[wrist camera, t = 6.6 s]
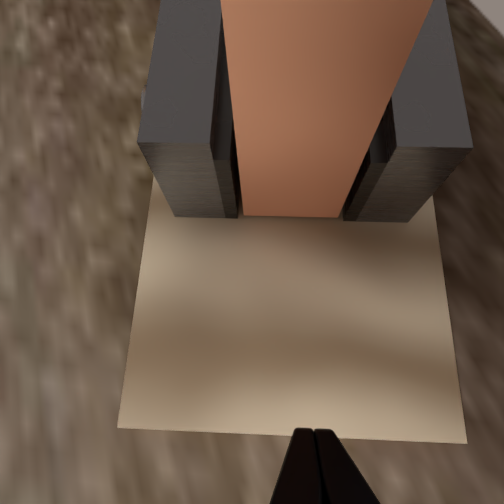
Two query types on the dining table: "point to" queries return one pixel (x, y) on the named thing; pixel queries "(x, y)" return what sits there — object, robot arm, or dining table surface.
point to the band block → (223, 134)
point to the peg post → (311, 94)
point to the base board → (292, 328)
